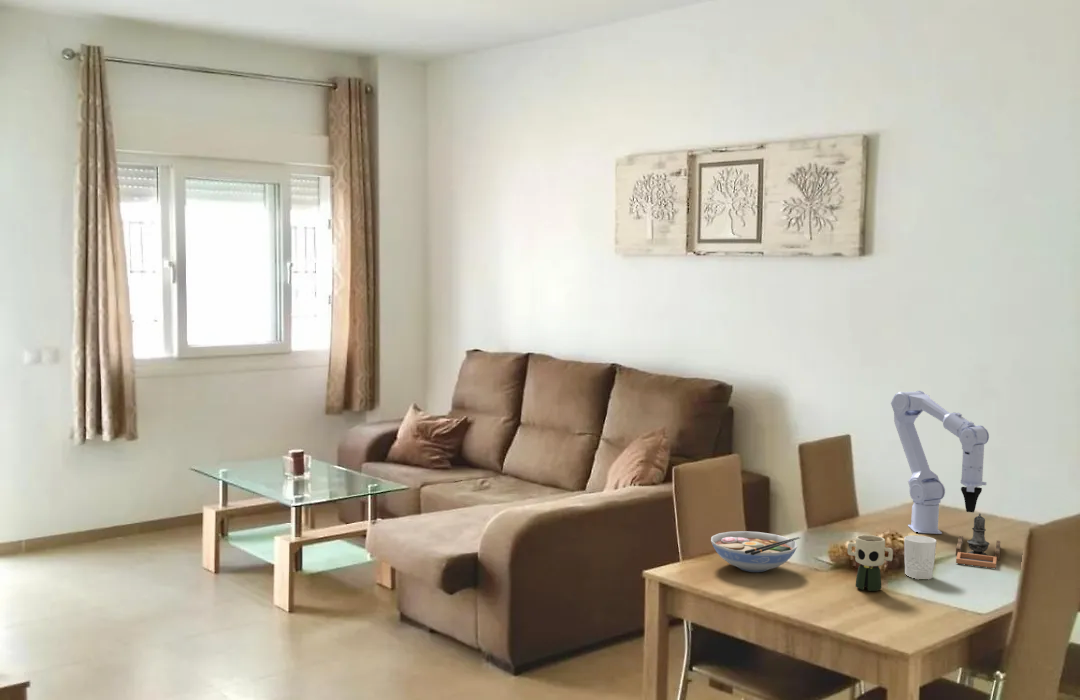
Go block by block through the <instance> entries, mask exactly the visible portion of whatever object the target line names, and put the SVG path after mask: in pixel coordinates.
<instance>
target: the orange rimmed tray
mask: <svg viewBox="0 0 1080 700" xmlns="http://www.w3.org/2000/svg"><path fill="white" fill-rule="evenodd" d="M963 542H964V535H959V537H958V539H957V544H956V547H955V556H957V554H958V552H961V551H962V548H963ZM1000 553H1001V540H996V546H995V554H994V556H995V557H997V560H996V561H997V562H998V561H1000Z"/></svg>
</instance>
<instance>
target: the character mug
mask: <svg viewBox="0 0 1080 700" xmlns="http://www.w3.org/2000/svg"><path fill="white" fill-rule="evenodd" d="M853 547H854V549H855V550H854V551H852V550H853V549H852V548H853ZM886 552H888V556H885V554H886ZM847 555H849V556H854V559H855V562H856V563H858V564H859V566H858V568H857V573H856V579H855V587H856V588H857V589H859V590H865V588H867V591H871V592H872V591H873V592H875V591H880V590H881V589H882V575H881V568H880V566H882V565H884V563H885V561H887V562H892V561H893V555H894V550H893V548H891V547H886V539H885V538H884V537H882V536H877V535H872V534H861V535H856V537H855V542H848V543H847Z"/></svg>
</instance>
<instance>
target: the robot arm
mask: <svg viewBox="0 0 1080 700" xmlns="http://www.w3.org/2000/svg"><path fill="white" fill-rule="evenodd" d="M890 405H891V408H892V410H893V411H892V412H893V419H894V420H893V421H894V425H895V428H896V432H897V434H898V437H899V439H900V443H901V445H902V449H903V452H904V454H905V458H906V460H907V464H908V465H909V469H910V472H911V476H910V478H909V479H908V481H907V482H908V485H909V496H910V498H911V500H912V503H913V504H912V506H911V516H910V517H911V520H910V521H911V524H907V526H908V528H910V529H911V530H912V531H913V532H914V533H915V532H918V533H917V534H935V535H942V534H943V532H942V531H941V530H940V529H939V516H940V515H939V512H940V504H941V500H943V499H944V497H945V495H946V488H945V486H944V484H943V483H942V481H941V480H940V479H939V476H938V475H937V474H936V473H935V472H934V471H932V470H931V469H930V465H929V463H928V460H927V457H926V455H925V450H924V449H923V446H922V443H921V440H920V437H919V434H918V431H917V427H916V426H915V421H916V420H917V418H918V417H919V416H920V415H921V414H922V413H923V412H925V413H926V414H929V415H930V416H932V417H934V418H935V419H936V420H938V421H940V422H942V426H943V428H944V429H945V430H947V431H948V432H950V433H952V435H954V436H956V437H957V438H958V439H959V441H960V444H961V450H962V461H961V462H962V466H961V479H960V484H961V485H963V486H961V487H960V491H961V493H962V495H963V498H964V505H965V512H966V513H972V514H973V513H975V510H976V508H977V502H978V499H979V496H980V495H981V493H982V491H983V488H982V487H981V486H987V482H986V481H983V476H984V475H983V474H984V455H985V445H986V444H987V443H988V442H989V438H990V434H989V431H988V429H986V428H985V427H984V425H975V424H974V423H975V422H973V421H969V420H968V419H967V418H965V417H963V414H962V413H961V412H949V411H948V410H947V409H945V408H944V407H942V406H941V405H940V404H938V403H936V401H934V399H932V398H931V397H930V395H929V394H928V393H925V392H924V391H922V390H917V391H898V392H896V393H895V394H894V395H893V398H892V400H891V401H890Z"/></svg>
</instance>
